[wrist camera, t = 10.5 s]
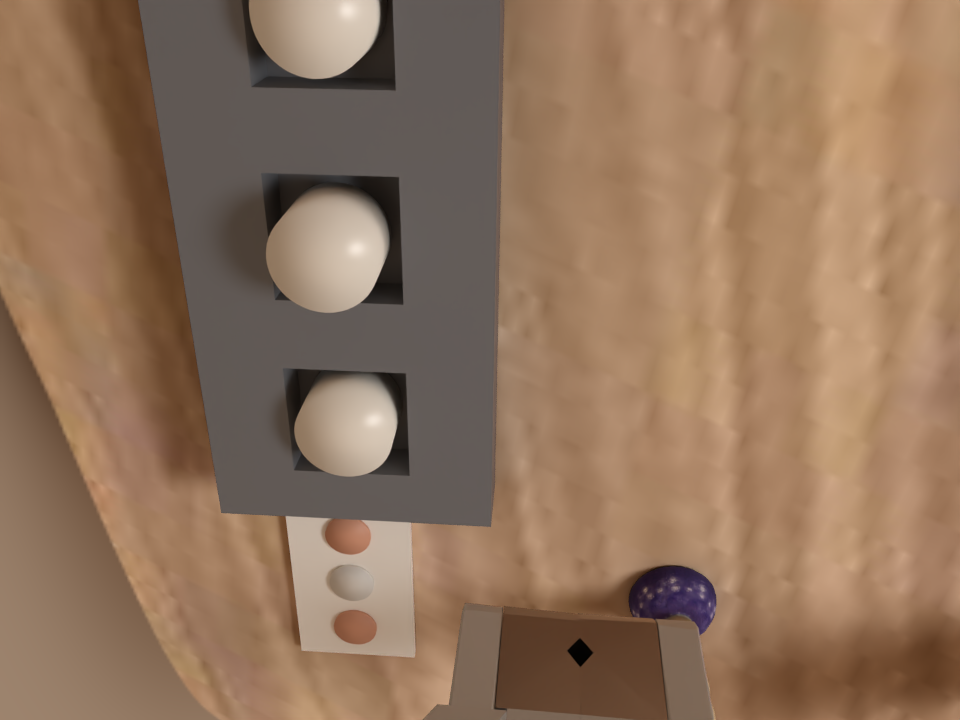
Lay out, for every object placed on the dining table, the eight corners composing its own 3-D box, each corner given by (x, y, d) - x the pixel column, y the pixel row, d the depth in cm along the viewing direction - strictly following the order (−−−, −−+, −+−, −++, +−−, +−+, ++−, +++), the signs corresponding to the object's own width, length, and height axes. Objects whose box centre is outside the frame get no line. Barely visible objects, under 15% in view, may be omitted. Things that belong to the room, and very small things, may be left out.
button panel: (149, -163, 30) (110, -168, 27) (507, -161, 29) (503, -165, 26) (242, 473, 42) (221, 512, 39) (494, 485, 41) (490, 526, 39)
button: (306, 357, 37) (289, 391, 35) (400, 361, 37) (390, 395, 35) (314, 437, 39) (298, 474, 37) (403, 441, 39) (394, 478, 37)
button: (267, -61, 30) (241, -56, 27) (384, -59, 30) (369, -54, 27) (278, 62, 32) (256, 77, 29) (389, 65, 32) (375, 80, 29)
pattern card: (285, 492, 42) (282, 500, 42) (410, 498, 42) (408, 506, 41) (303, 644, 47) (300, 653, 47) (415, 651, 47) (414, 660, 46)
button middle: (281, 180, 33) (259, 204, 30) (389, 183, 32) (376, 207, 30) (291, 280, 35) (272, 310, 32) (393, 284, 34) (381, 315, 32)
